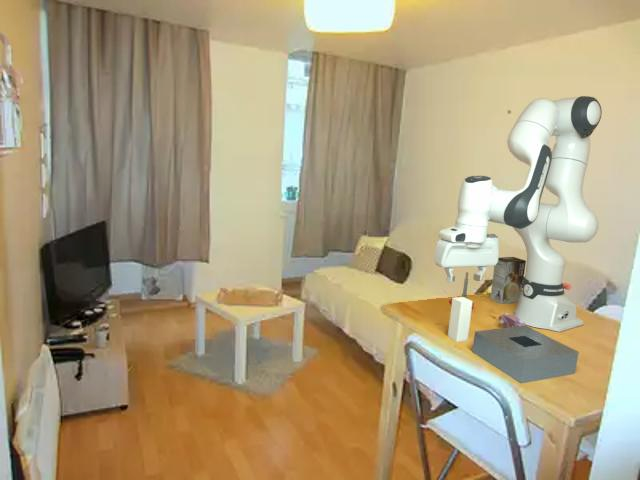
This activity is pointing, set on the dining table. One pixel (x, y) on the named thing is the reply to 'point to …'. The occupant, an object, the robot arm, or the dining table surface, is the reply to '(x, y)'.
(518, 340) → the socket block
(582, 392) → the dining table surface
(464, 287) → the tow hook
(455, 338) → the peg
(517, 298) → the coffee box
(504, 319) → the video game controller
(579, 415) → the dining table surface
